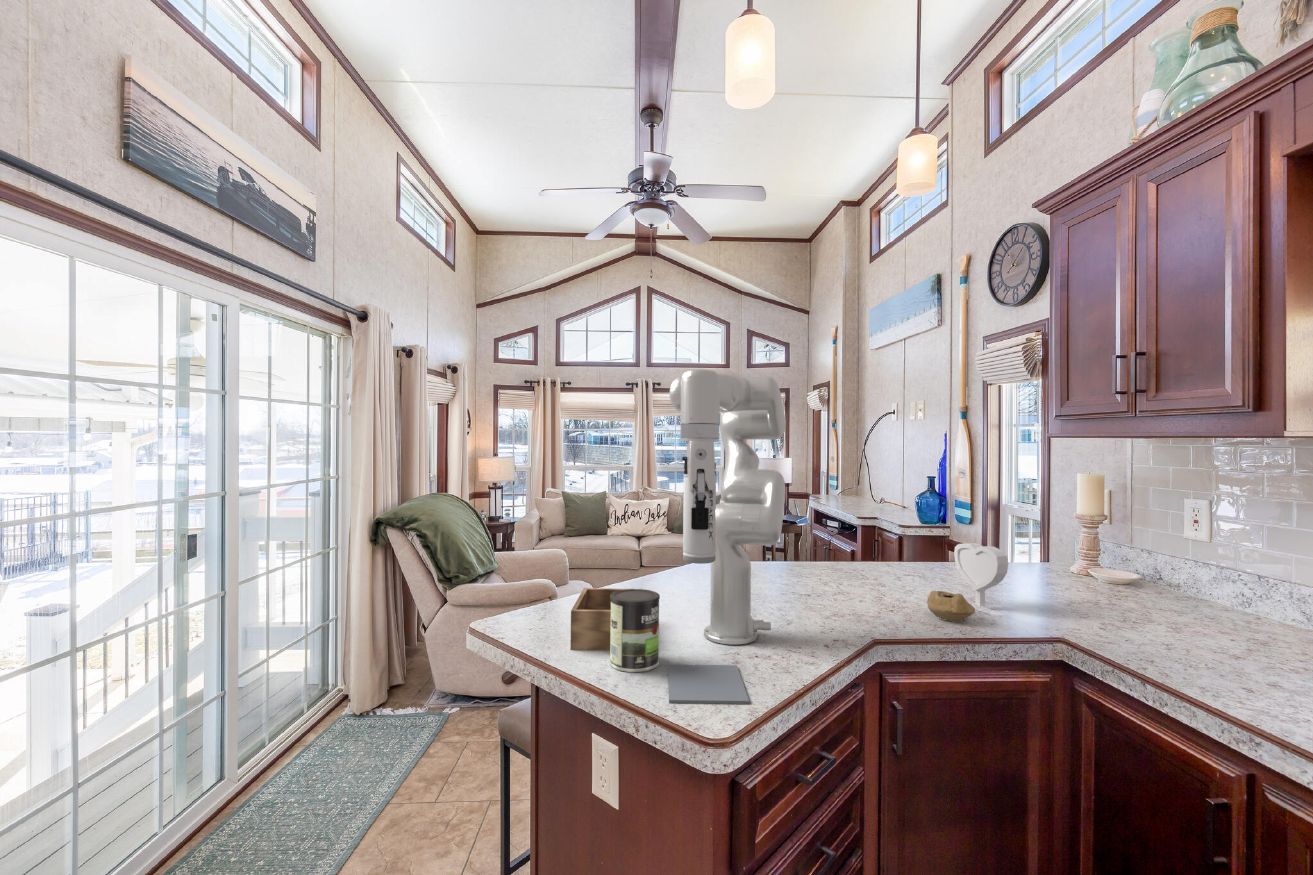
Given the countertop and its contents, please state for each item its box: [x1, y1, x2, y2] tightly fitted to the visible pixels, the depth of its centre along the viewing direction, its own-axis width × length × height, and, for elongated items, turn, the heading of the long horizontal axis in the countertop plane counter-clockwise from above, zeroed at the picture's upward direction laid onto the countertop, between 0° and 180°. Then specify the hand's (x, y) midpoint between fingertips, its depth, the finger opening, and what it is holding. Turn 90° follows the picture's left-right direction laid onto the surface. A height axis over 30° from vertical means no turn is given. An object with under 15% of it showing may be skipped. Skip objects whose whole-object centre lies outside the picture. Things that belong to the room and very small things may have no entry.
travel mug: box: [681, 456, 717, 565], centre depth 107 cm, size 6×7×20 cm
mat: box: [667, 663, 750, 705], centre depth 105 cm, size 14×16×1 cm
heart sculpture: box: [953, 542, 1009, 608], centre depth 157 cm, size 16×5×18 cm, turn 13°
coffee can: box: [609, 588, 661, 673], centre depth 115 cm, size 10×10×14 cm
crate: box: [569, 587, 627, 651], centre depth 132 cm, size 13×20×8 cm, turn 179°
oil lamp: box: [926, 590, 976, 622], centre depth 148 cm, size 11×15×8 cm
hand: (699, 526), depth 107 cm, fingers closed on travel mug, 6 cm apart
